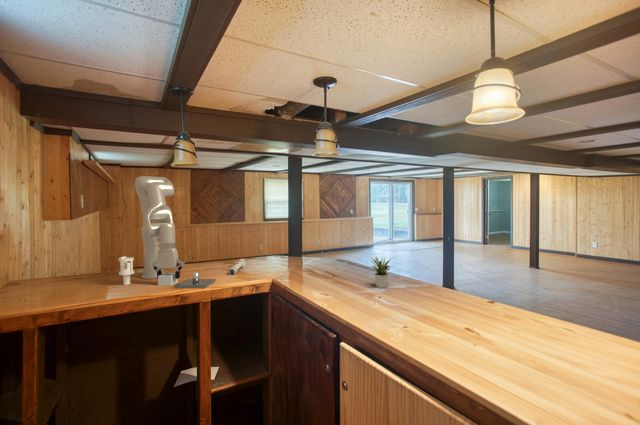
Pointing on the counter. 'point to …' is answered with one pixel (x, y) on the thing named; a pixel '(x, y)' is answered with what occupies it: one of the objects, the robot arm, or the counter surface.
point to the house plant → (381, 272)
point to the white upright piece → (126, 268)
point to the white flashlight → (237, 267)
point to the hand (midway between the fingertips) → (168, 278)
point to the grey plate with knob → (195, 282)
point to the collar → (167, 279)
